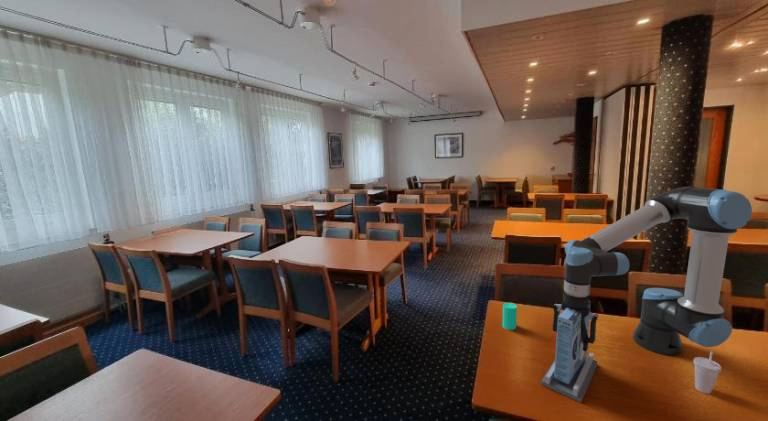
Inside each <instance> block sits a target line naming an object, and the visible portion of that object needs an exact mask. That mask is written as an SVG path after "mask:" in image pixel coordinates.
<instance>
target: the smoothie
mask: <svg viewBox="0 0 768 421" xmlns="http://www.w3.org/2000/svg"><path fill="white" fill-rule="evenodd" d="M712 359H713V351H712V350H710V352H709V358H706V357H703V356H702V357H700V356H697V357H694V358H693V362H692V363H693V364H694V388H695V389H696V390H698V391H699V392H701V393H704V394H709V395H710V394H711V393H712V392H713V388H714V386H715V383H716V381H717V378H718V376H719V373H720V372H721V371H722V366H721V365H720V364H719V363H718V362H716V361H715V360H712Z"/></svg>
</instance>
